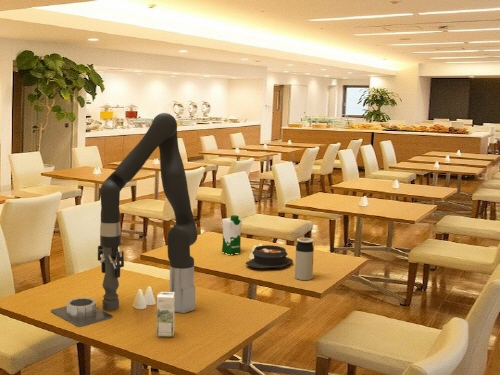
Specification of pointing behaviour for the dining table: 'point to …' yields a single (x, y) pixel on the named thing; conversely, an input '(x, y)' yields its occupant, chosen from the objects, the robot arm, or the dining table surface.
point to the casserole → (269, 257)
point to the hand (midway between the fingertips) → (110, 275)
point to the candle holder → (110, 284)
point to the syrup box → (165, 314)
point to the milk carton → (231, 235)
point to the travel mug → (304, 259)
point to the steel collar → (81, 312)
